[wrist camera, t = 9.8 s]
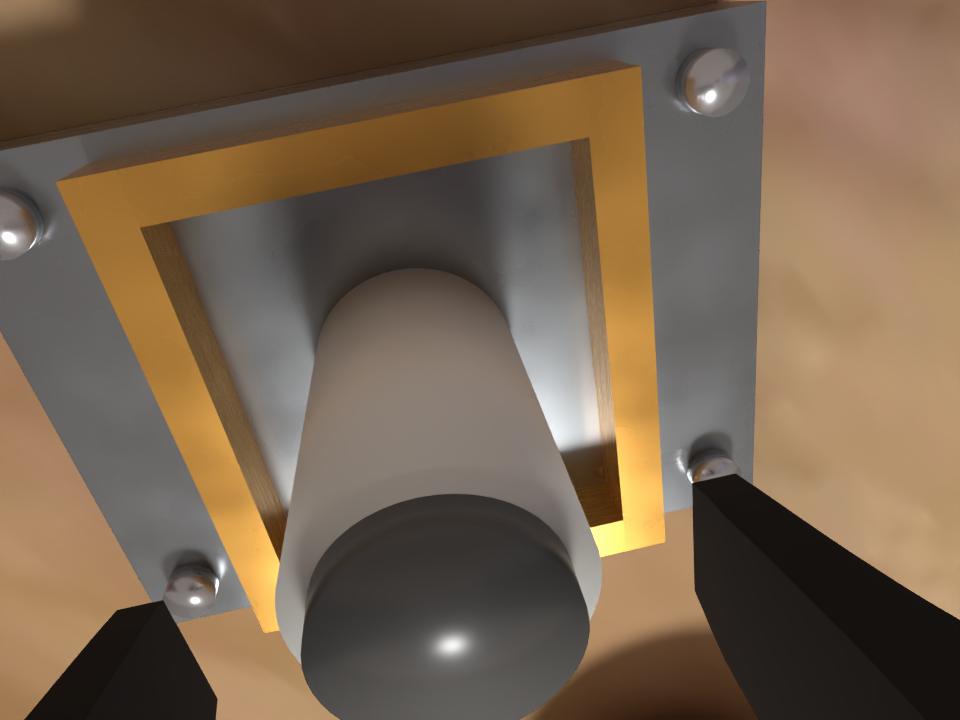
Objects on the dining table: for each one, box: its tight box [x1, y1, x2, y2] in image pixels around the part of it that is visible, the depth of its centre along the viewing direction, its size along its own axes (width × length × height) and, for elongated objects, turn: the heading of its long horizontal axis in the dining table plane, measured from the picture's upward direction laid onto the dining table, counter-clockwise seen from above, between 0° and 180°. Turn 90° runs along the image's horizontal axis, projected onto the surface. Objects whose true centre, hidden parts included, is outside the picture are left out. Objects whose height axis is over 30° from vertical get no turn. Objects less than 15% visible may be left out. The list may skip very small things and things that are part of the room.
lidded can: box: [275, 268, 602, 720], centre depth 12 cm, size 4×4×8 cm
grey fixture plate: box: [0, 1, 766, 633], centre depth 16 cm, size 16×12×4 cm
